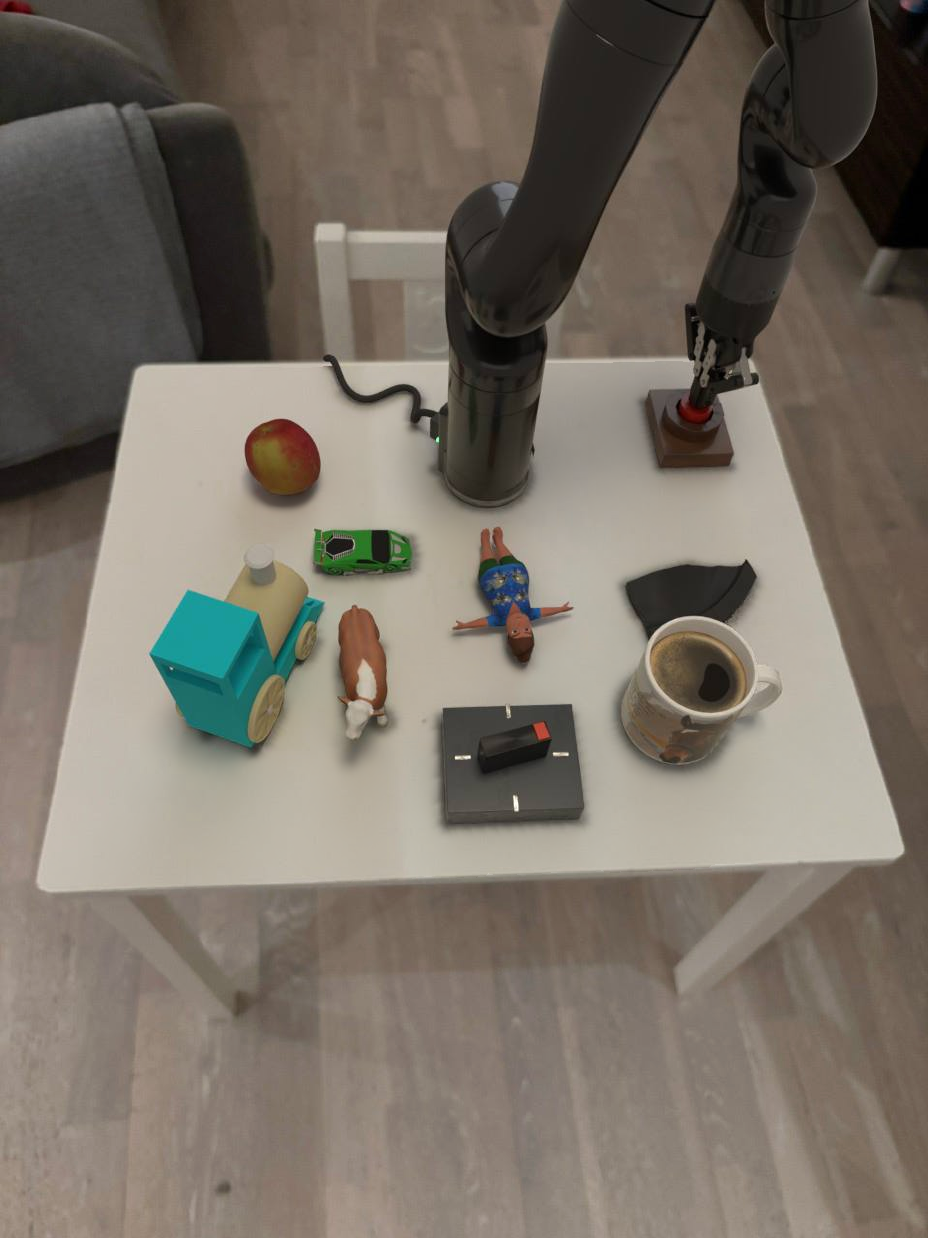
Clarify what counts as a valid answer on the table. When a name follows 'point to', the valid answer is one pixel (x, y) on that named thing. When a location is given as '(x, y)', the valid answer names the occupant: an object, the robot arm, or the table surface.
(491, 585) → the toy character
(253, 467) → the apple
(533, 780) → the dial panel
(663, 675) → the mug
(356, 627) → the bull figurine
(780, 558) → the table surface
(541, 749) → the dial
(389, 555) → the toy car
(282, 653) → the toy train
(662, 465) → the button block
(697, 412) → the button
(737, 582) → the fan shaped piece
